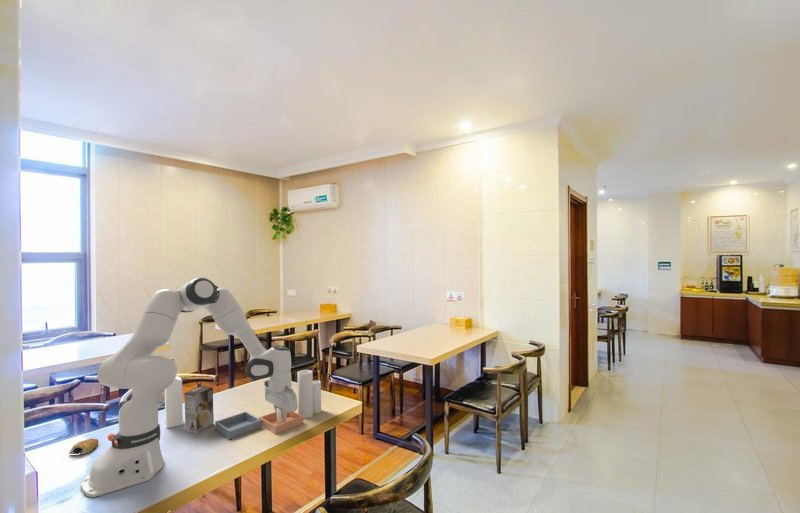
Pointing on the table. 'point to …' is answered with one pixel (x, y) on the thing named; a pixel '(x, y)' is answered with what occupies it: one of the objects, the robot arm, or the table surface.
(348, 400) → the table surface
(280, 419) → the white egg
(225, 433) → the grey-blue open tray
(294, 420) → the salmon open tray
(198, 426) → the coffee box
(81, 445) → the pastry
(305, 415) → the white double cylinder vase
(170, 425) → the milk
